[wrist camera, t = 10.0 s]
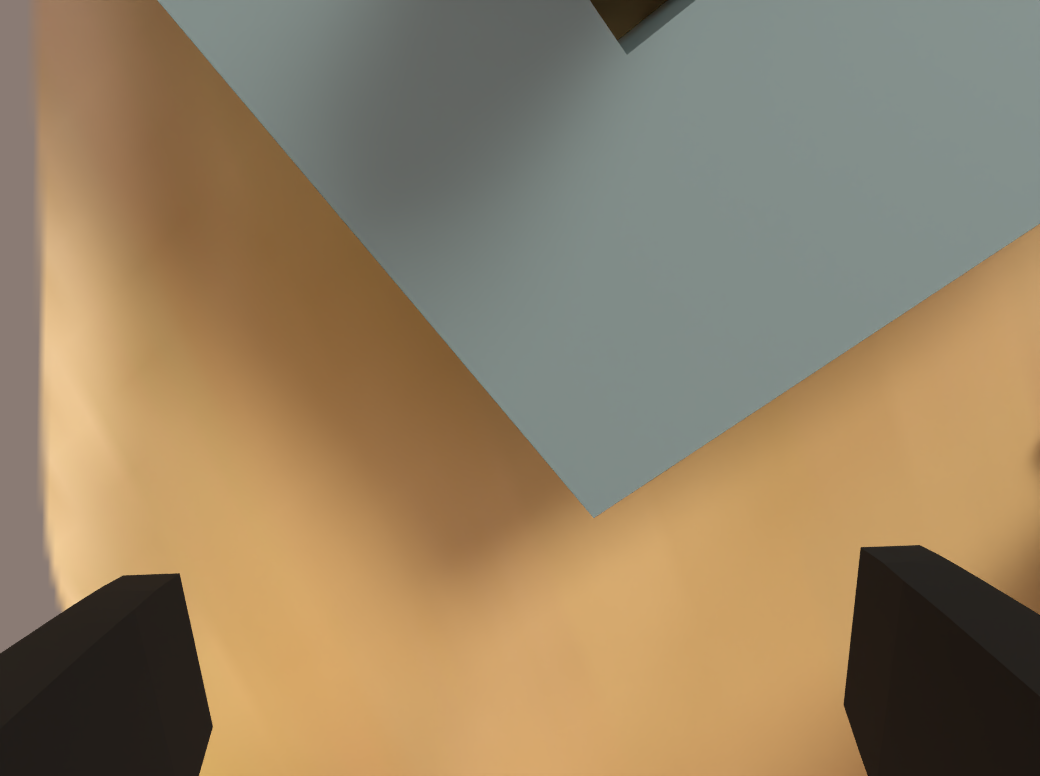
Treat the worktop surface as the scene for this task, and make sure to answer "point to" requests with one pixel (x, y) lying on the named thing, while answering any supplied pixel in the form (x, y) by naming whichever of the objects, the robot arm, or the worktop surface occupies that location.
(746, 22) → the hole block
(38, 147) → the worktop surface
